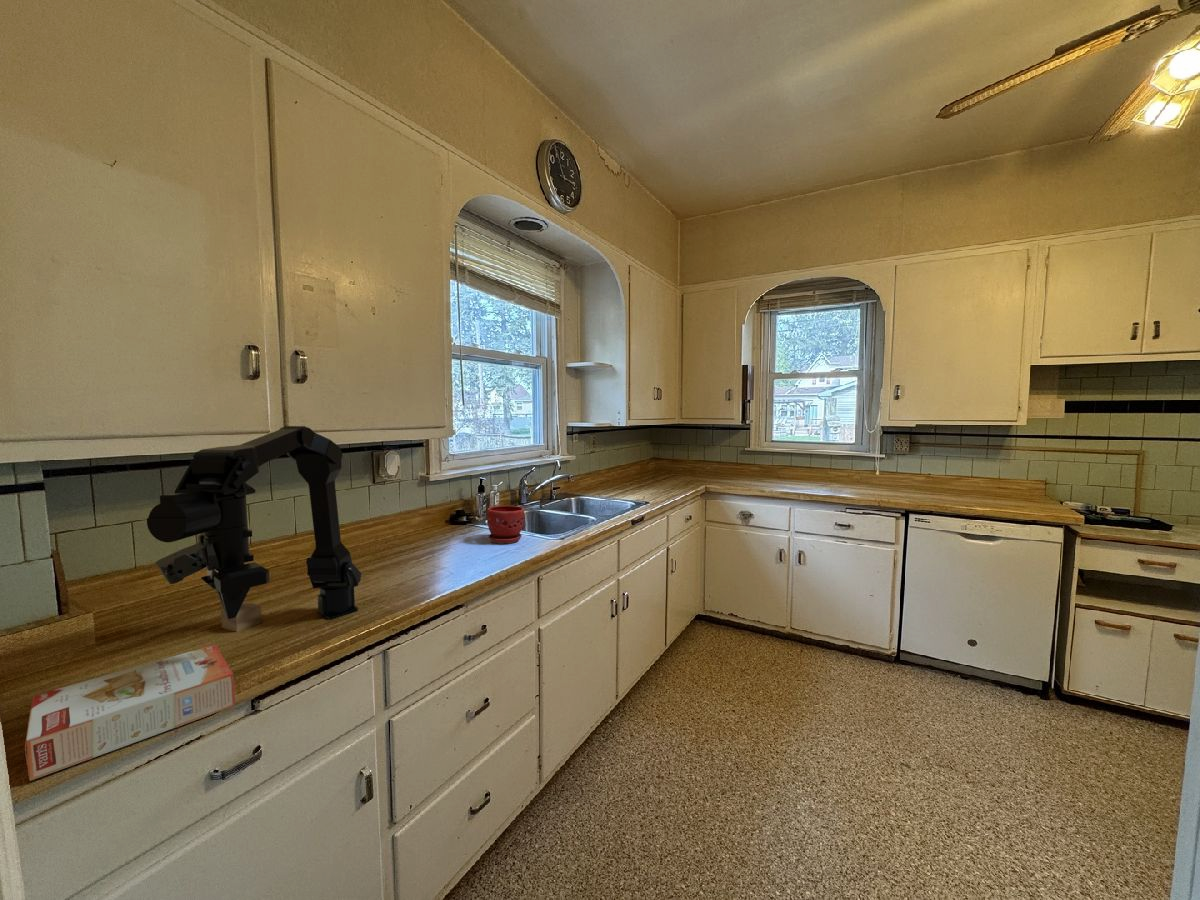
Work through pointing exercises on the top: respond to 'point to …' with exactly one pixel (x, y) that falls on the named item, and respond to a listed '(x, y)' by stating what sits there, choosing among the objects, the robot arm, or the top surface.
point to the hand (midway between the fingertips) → (231, 617)
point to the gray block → (243, 617)
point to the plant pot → (505, 523)
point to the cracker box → (124, 708)
